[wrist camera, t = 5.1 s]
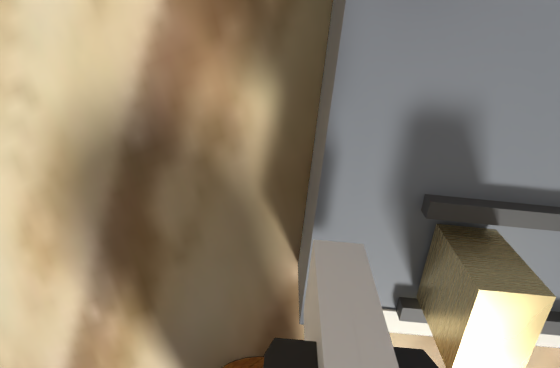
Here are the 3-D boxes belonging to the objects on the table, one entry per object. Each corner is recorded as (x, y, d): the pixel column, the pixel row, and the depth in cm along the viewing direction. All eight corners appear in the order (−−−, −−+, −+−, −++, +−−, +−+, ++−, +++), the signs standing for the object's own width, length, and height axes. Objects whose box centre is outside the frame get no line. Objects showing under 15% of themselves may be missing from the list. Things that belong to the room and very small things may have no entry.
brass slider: (416, 296, 15) (449, 375, 12) (436, 223, 14) (479, 289, 11) (471, 301, 15) (519, 382, 12) (495, 229, 14) (556, 296, 11)
